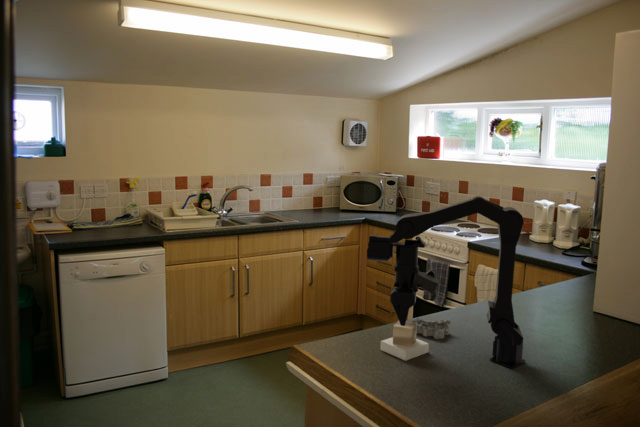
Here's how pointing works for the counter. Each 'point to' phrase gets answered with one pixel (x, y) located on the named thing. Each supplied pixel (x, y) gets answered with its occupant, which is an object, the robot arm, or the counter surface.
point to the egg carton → (432, 328)
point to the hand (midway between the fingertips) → (404, 319)
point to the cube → (405, 334)
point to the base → (404, 349)
